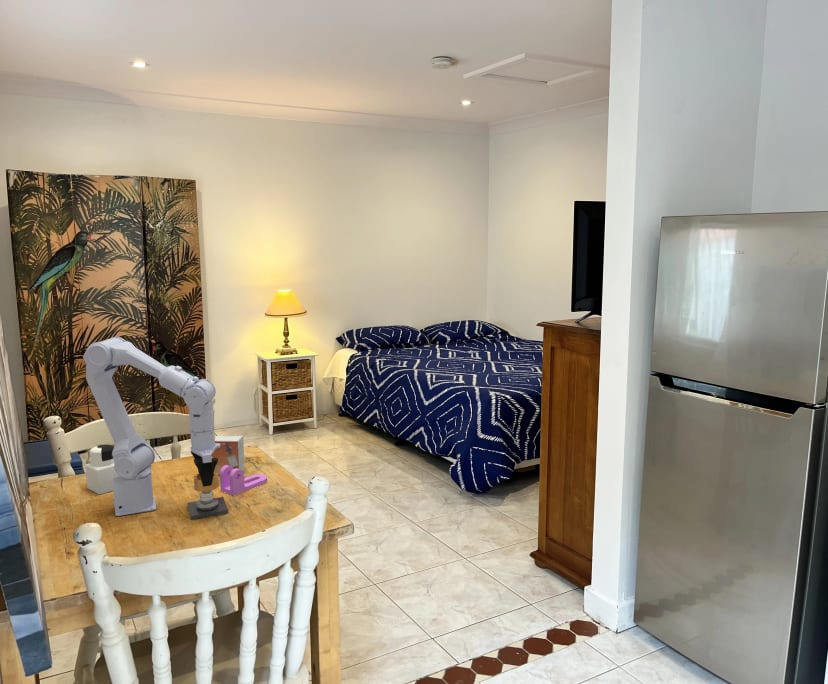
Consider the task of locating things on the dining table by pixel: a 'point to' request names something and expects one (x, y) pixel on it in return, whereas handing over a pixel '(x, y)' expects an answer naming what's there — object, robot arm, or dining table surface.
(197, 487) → the wooden ring
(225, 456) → the small box
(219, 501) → the stand
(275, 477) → the dining table surface
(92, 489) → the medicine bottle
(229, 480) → the bracket
